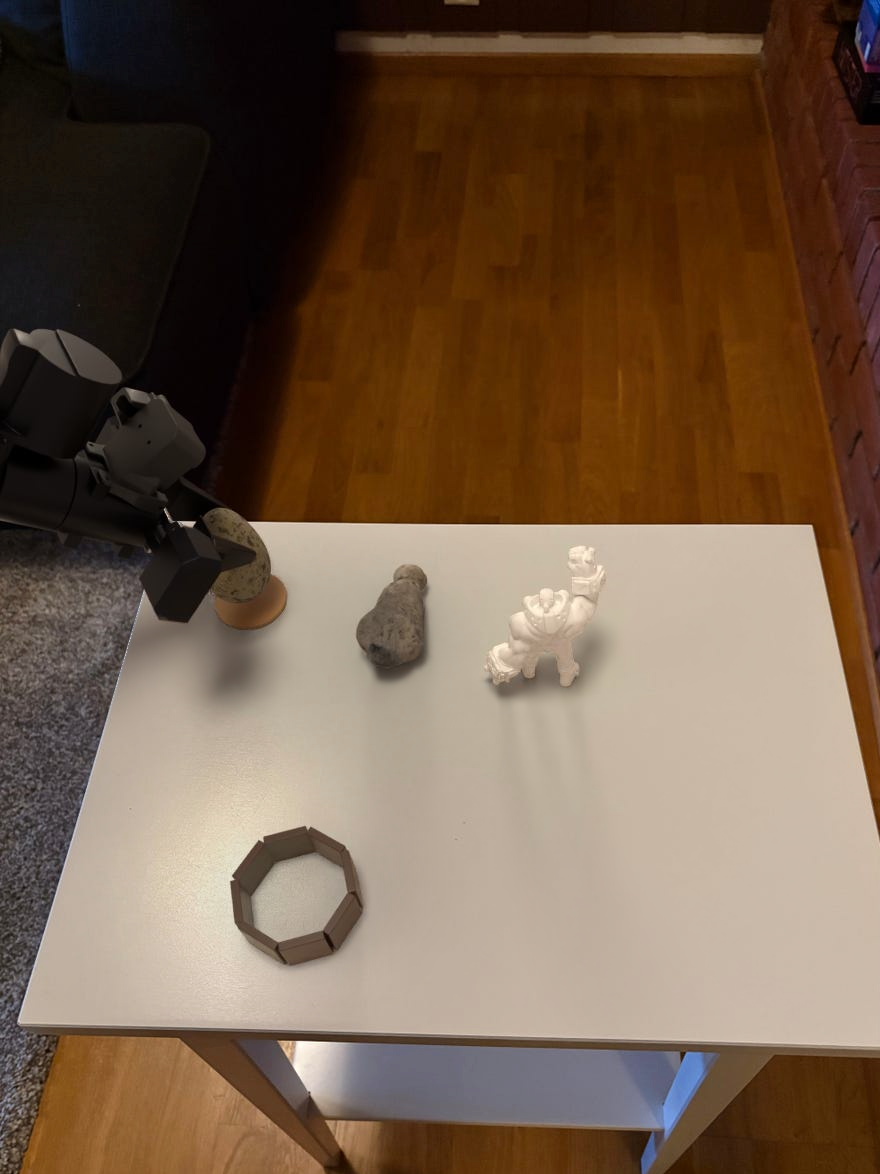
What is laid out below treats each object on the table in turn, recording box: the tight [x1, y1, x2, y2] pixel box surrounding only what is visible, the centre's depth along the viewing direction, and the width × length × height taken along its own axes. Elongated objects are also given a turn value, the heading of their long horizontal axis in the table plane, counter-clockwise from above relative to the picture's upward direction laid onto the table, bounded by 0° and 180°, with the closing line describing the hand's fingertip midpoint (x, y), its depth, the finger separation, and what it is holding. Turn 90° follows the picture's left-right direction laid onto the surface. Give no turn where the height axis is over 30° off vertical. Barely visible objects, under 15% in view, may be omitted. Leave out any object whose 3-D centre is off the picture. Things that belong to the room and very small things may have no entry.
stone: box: [355, 563, 428, 668], centre depth 77 cm, size 10×5×8 cm
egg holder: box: [229, 825, 364, 966], centre depth 64 cm, size 8×8×4 cm
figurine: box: [483, 545, 607, 688], centre depth 71 cm, size 10×5×12 cm, turn 120°
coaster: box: [214, 573, 288, 631], centre depth 81 cm, size 6×6×1 cm
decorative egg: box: [203, 508, 272, 603], centre depth 76 cm, size 6×6×10 cm
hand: (241, 536), depth 75 cm, fingers closed on decorative egg, 5 cm apart
